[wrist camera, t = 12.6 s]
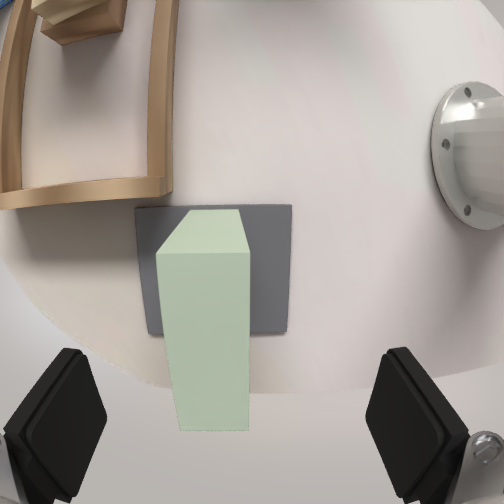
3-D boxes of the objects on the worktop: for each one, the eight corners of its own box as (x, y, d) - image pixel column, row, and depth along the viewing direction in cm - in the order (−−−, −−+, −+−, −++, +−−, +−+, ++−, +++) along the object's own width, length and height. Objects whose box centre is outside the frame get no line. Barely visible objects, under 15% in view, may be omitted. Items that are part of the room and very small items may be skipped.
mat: (290, 204, 20) (291, 205, 20) (285, 329, 22) (286, 331, 22) (136, 207, 19) (134, 208, 19) (149, 331, 22) (148, 334, 21)
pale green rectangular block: (238, 209, 20) (250, 252, 10) (238, 324, 22) (248, 430, 12) (190, 209, 19) (155, 253, 10) (195, 325, 21) (180, 430, 12)
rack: (190, -83, 13) (187, -111, 9) (172, 190, 19) (159, 196, 15) (50, -50, 12) (32, -69, 8) (13, 203, 18) (-19, 212, 14)
